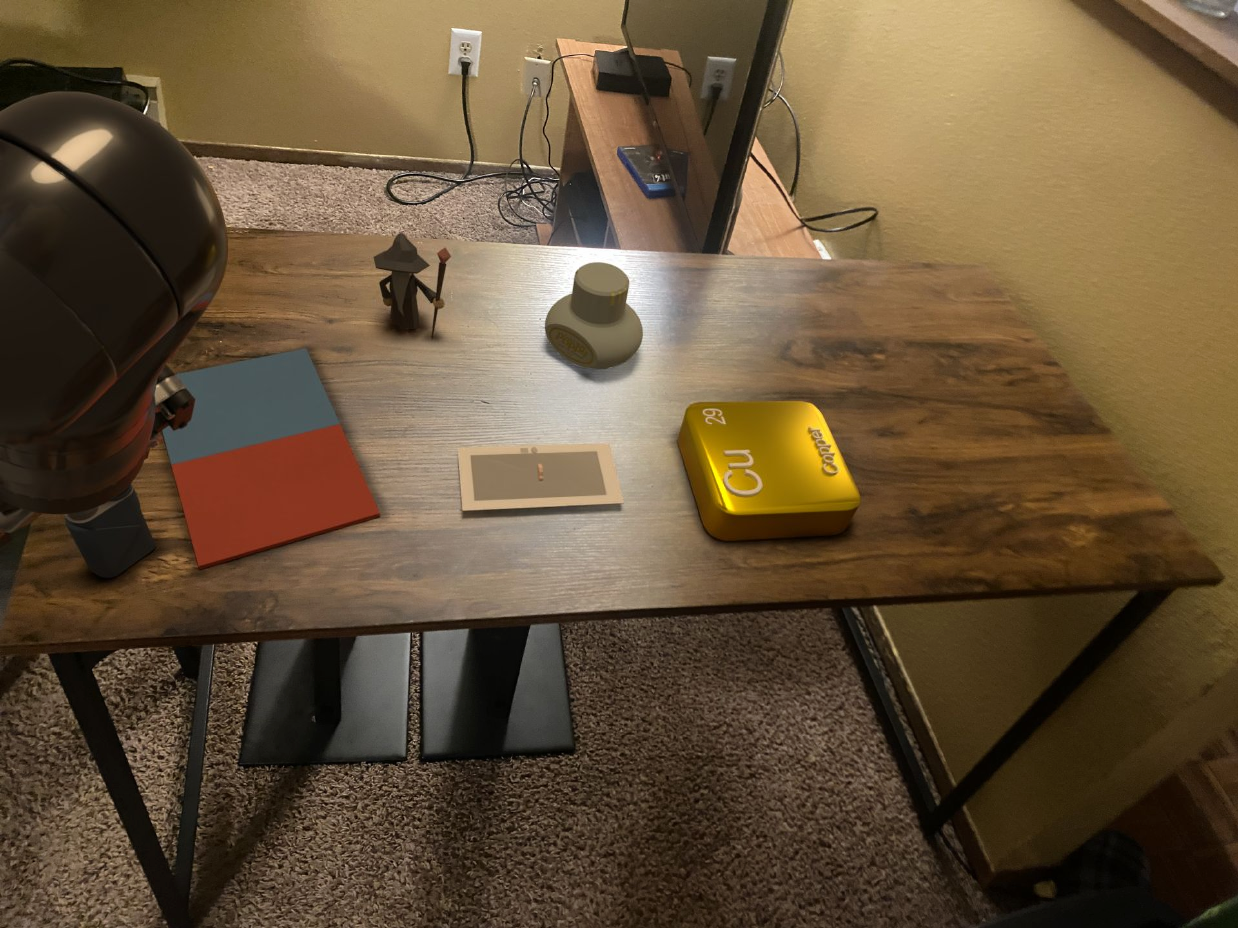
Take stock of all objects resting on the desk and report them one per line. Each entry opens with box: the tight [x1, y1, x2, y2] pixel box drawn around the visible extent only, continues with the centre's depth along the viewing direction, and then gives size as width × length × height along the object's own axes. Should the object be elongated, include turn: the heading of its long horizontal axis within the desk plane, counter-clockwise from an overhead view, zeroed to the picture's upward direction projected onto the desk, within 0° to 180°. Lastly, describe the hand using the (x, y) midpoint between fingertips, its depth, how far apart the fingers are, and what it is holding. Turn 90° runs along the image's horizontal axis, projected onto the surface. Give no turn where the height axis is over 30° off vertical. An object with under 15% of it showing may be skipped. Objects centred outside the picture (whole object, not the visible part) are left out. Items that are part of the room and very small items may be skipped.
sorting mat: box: [161, 347, 381, 570], centre depth 78 cm, size 15×24×1 cm, turn 29°
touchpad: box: [457, 442, 625, 512], centre depth 80 cm, size 8×15×2 cm, turn 101°
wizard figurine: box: [373, 232, 452, 339], centre depth 89 cm, size 8×6×12 cm
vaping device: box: [64, 482, 157, 579], centre depth 64 cm, size 3×5×12 cm, turn 148°
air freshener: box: [544, 261, 644, 370], centre depth 91 cm, size 11×8×10 cm
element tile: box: [677, 400, 862, 542], centre depth 83 cm, size 15×15×5 cm
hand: (65, 487), depth 51 cm, fingers open, 8 cm apart
